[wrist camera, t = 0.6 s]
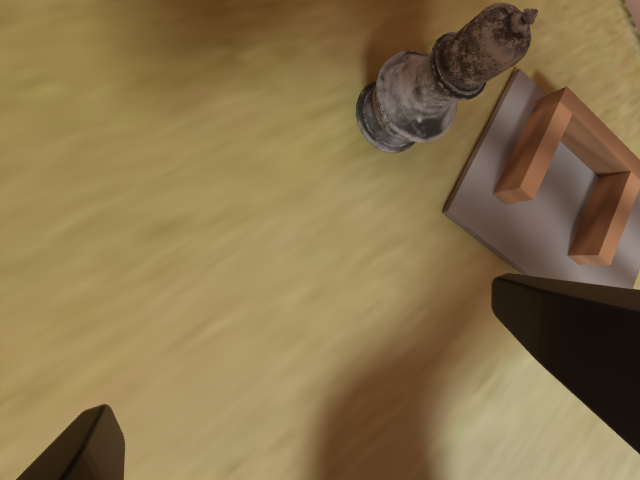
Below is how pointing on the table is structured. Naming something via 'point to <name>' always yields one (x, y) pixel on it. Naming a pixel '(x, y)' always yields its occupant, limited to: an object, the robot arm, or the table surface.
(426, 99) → the salt shaker
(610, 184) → the wooden u-frame tray
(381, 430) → the table surface
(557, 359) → the robot arm
